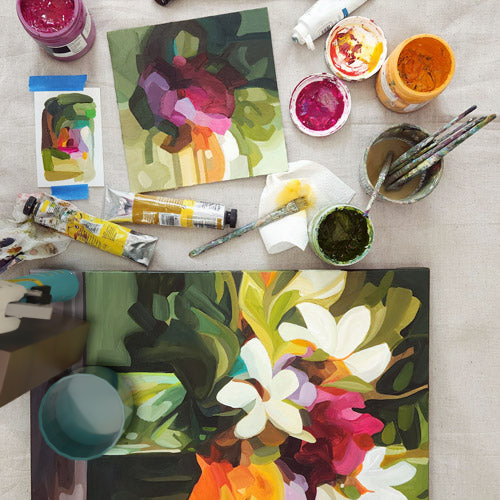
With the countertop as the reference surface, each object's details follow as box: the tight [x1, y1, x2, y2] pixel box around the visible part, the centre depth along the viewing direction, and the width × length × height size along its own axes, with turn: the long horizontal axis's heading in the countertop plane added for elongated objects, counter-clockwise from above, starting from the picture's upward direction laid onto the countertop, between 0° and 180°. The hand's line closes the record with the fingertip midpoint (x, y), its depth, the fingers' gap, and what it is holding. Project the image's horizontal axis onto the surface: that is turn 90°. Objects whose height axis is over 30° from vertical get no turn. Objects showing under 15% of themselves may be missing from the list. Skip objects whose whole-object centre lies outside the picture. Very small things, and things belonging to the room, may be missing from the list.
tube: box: [3, 269, 80, 304], centre depth 60 cm, size 7×5×19 cm, turn 100°
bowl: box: [37, 365, 135, 462], centre depth 66 cm, size 12×12×5 cm
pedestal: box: [0, 312, 91, 409], centre depth 58 cm, size 7×6×23 cm
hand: (14, 290), depth 55 cm, fingers closed on tube, 7 cm apart
